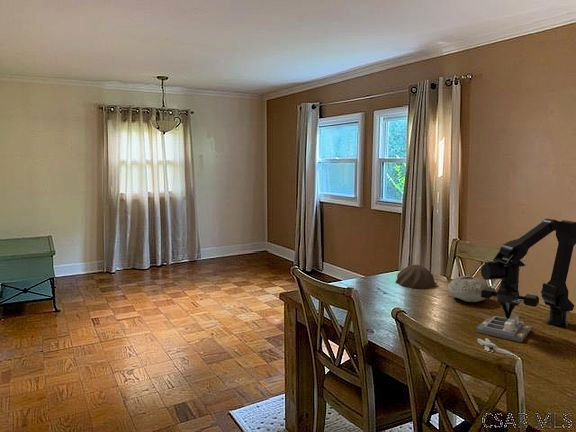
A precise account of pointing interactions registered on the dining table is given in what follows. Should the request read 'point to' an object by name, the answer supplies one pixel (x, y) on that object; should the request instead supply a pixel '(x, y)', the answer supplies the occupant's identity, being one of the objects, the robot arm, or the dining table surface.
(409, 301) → the dining table surface
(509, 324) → the tab
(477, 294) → the grey rounded stone
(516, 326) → the tab
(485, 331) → the switch bank
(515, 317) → the tab
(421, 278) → the decorative dome
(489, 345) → the pliers
